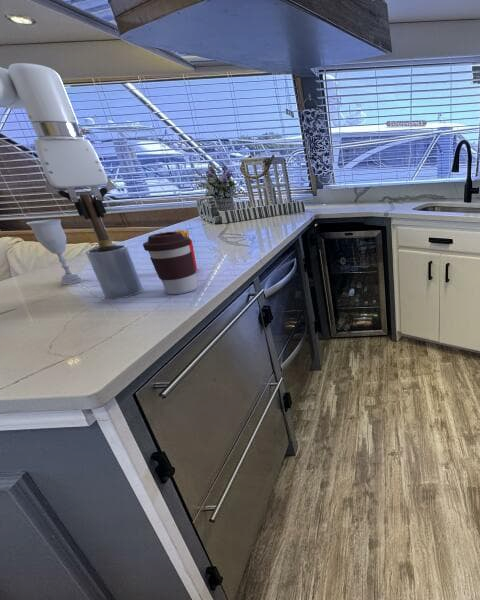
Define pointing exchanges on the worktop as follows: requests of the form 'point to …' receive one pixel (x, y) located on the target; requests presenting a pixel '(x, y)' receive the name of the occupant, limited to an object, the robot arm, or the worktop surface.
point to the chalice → (54, 244)
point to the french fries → (189, 245)
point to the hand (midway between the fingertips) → (94, 217)
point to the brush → (97, 224)
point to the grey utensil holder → (115, 272)
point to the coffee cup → (172, 261)
